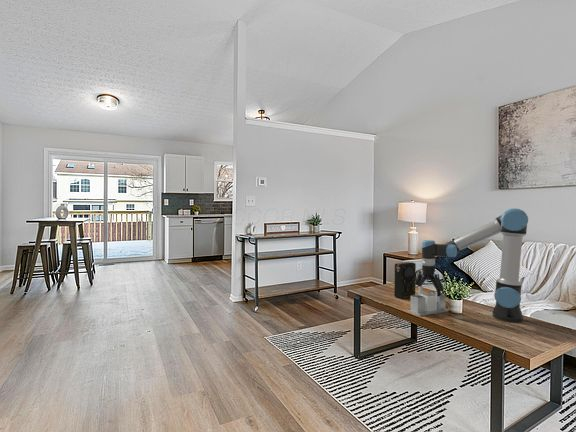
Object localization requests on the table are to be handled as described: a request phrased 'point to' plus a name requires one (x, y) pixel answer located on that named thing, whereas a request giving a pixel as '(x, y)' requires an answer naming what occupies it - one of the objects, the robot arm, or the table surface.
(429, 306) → the module
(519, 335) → the table surface
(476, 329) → the table surface
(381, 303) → the table surface
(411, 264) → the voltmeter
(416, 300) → the grey stepped block
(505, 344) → the table surface
